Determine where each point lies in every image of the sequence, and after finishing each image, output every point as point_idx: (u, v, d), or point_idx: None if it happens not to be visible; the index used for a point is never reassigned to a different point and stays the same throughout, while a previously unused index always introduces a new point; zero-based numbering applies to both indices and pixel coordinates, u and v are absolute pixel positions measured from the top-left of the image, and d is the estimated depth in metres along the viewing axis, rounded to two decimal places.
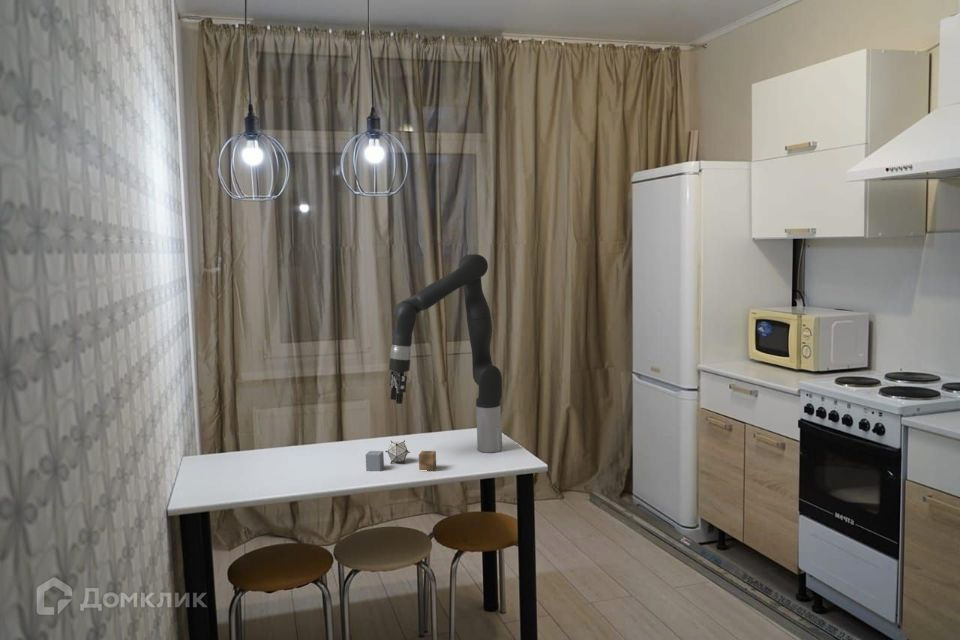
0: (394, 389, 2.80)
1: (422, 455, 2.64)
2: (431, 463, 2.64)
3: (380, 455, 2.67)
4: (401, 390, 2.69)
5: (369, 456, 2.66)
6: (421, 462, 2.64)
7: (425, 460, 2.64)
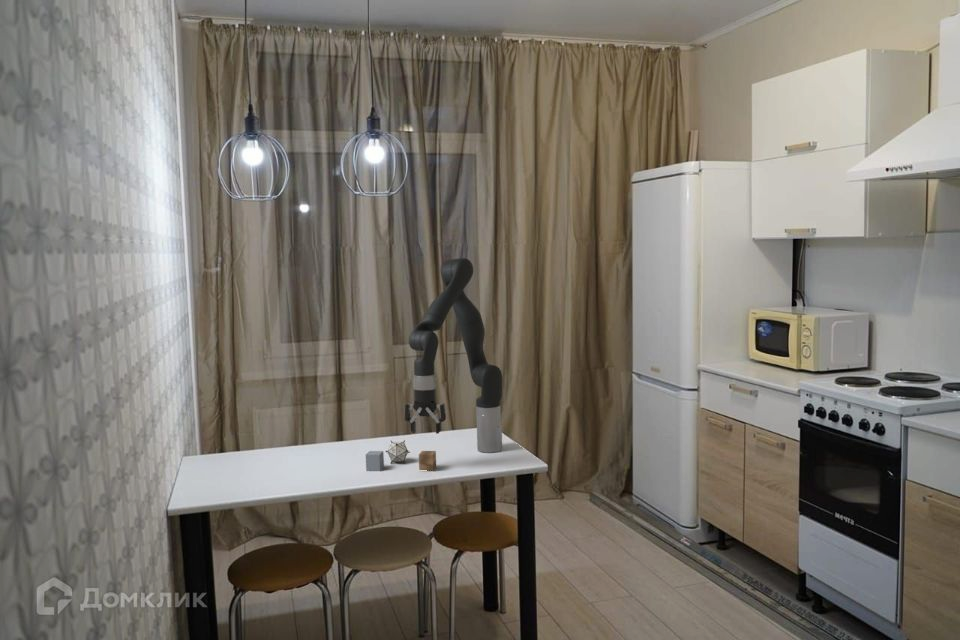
0: (414, 422, 2.66)
1: (422, 455, 2.64)
2: (431, 463, 2.64)
3: (380, 455, 2.67)
4: (444, 418, 2.64)
5: (369, 456, 2.66)
6: (421, 462, 2.64)
7: (425, 460, 2.64)
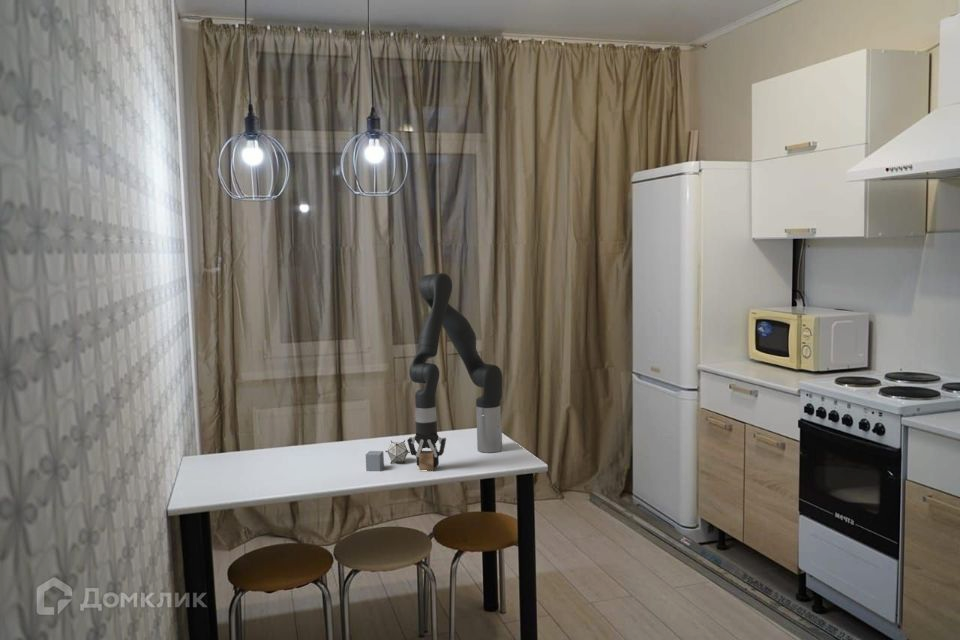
0: None
1: (422, 455, 2.64)
2: (431, 463, 2.64)
3: (380, 455, 2.67)
4: None
5: (369, 456, 2.66)
6: (421, 462, 2.64)
7: (425, 460, 2.64)
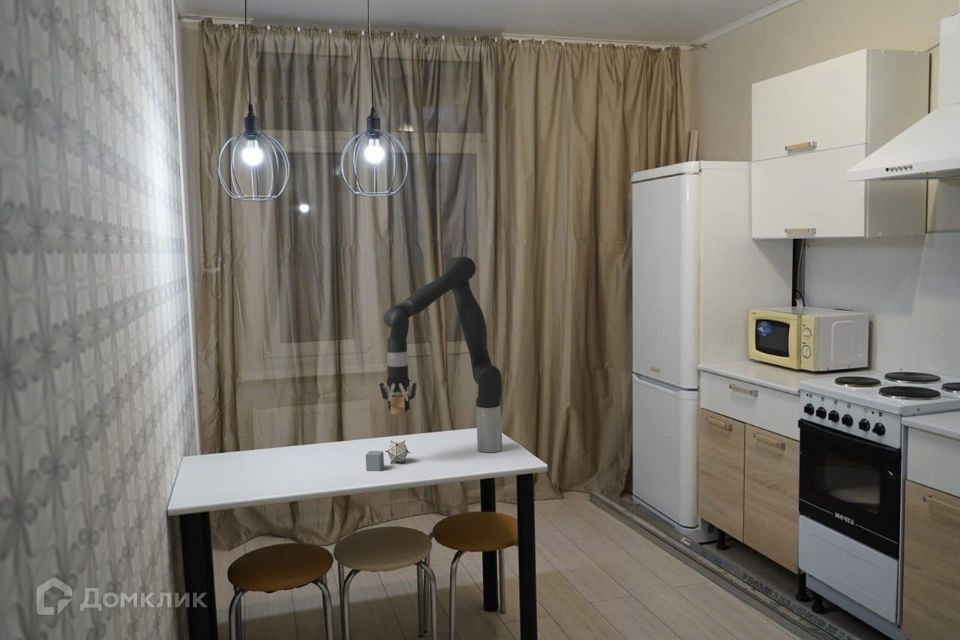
0: None
1: (394, 398, 2.71)
2: (402, 406, 2.70)
3: (380, 455, 2.67)
4: (413, 396, 2.72)
5: (369, 456, 2.66)
6: (392, 405, 2.71)
7: (396, 403, 2.71)
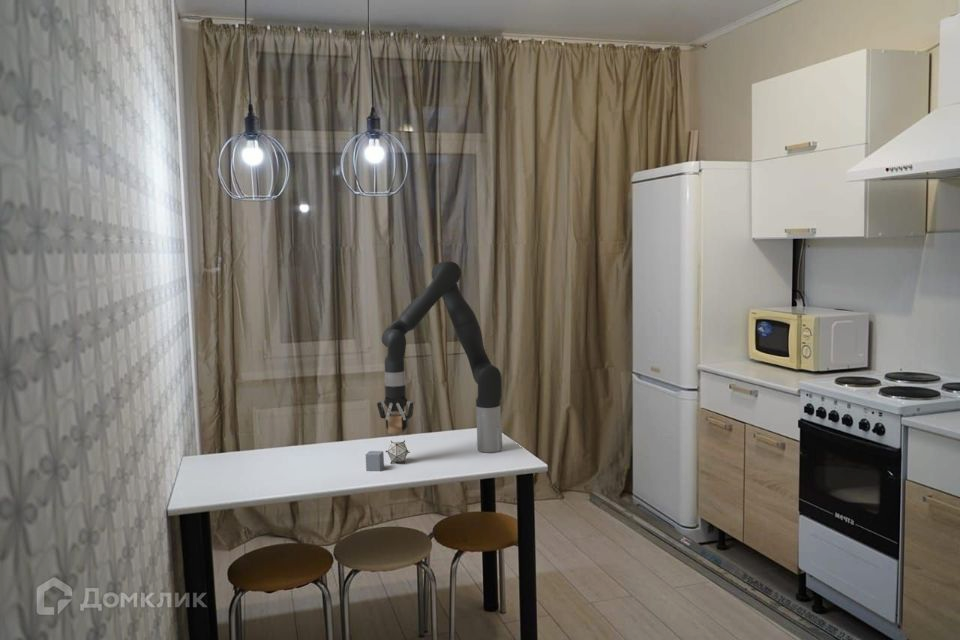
0: None
1: (391, 418, 2.73)
2: (400, 426, 2.73)
3: (380, 455, 2.67)
4: (410, 416, 2.74)
5: (369, 456, 2.66)
6: (390, 424, 2.73)
7: (393, 422, 2.73)
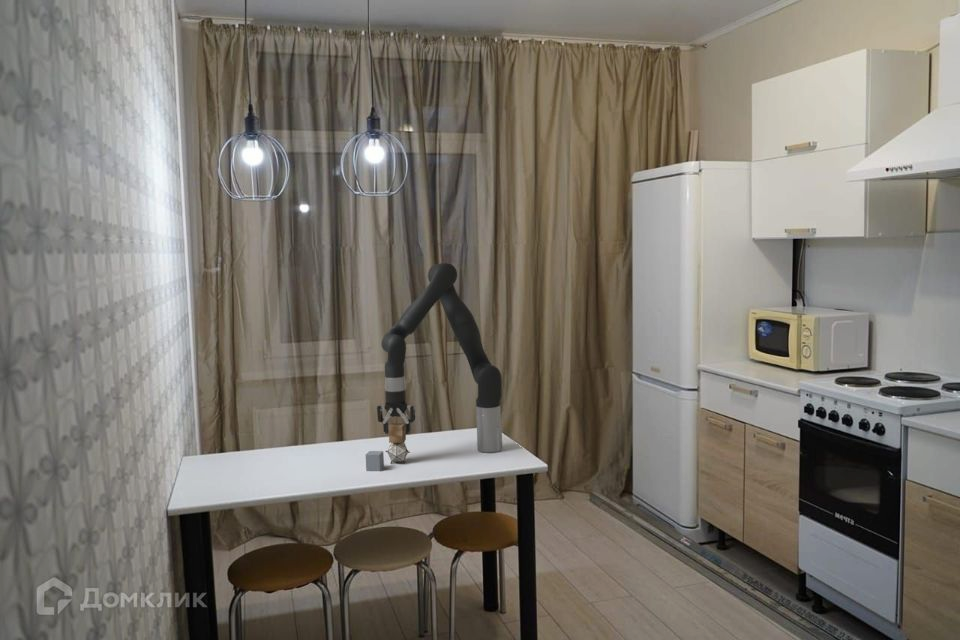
0: (387, 423, 2.76)
1: (392, 427, 2.73)
2: (400, 435, 2.73)
3: (380, 455, 2.67)
4: (413, 419, 2.74)
5: (369, 456, 2.66)
6: (391, 434, 2.73)
7: (394, 431, 2.73)
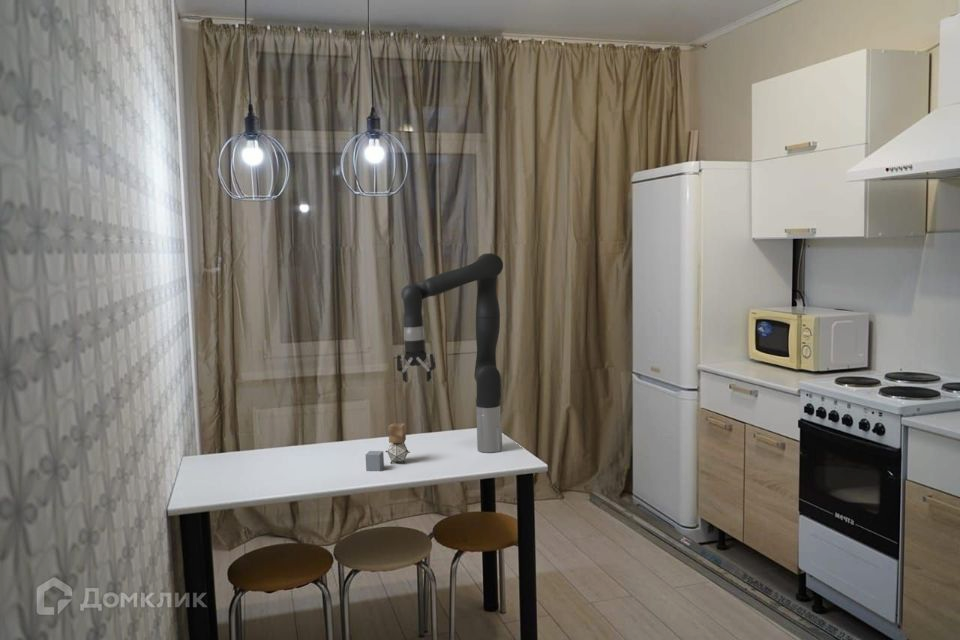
0: (406, 371, 2.82)
1: (392, 427, 2.73)
2: (400, 435, 2.73)
3: (380, 455, 2.67)
4: (434, 367, 2.80)
5: (369, 456, 2.66)
6: (390, 434, 2.74)
7: (394, 431, 2.73)
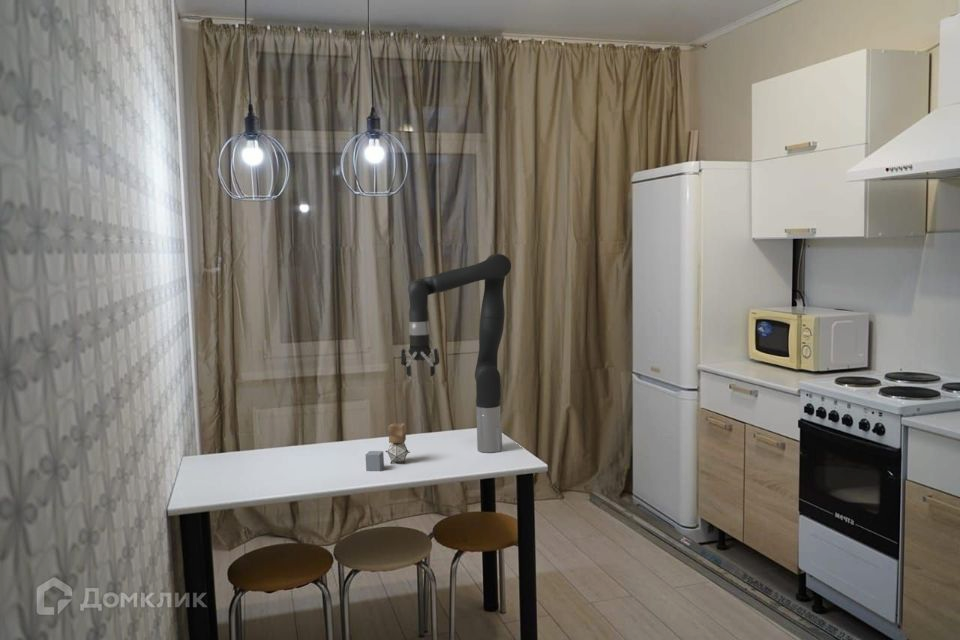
0: (410, 366, 2.84)
1: (392, 427, 2.73)
2: (400, 435, 2.73)
3: (380, 455, 2.67)
4: (438, 362, 2.82)
5: (369, 456, 2.66)
6: (390, 434, 2.74)
7: (394, 431, 2.73)
